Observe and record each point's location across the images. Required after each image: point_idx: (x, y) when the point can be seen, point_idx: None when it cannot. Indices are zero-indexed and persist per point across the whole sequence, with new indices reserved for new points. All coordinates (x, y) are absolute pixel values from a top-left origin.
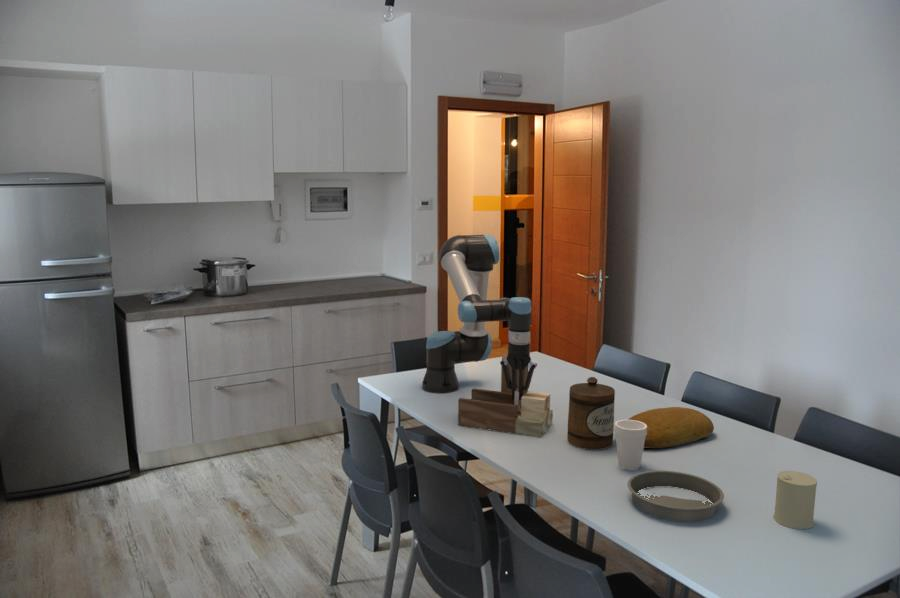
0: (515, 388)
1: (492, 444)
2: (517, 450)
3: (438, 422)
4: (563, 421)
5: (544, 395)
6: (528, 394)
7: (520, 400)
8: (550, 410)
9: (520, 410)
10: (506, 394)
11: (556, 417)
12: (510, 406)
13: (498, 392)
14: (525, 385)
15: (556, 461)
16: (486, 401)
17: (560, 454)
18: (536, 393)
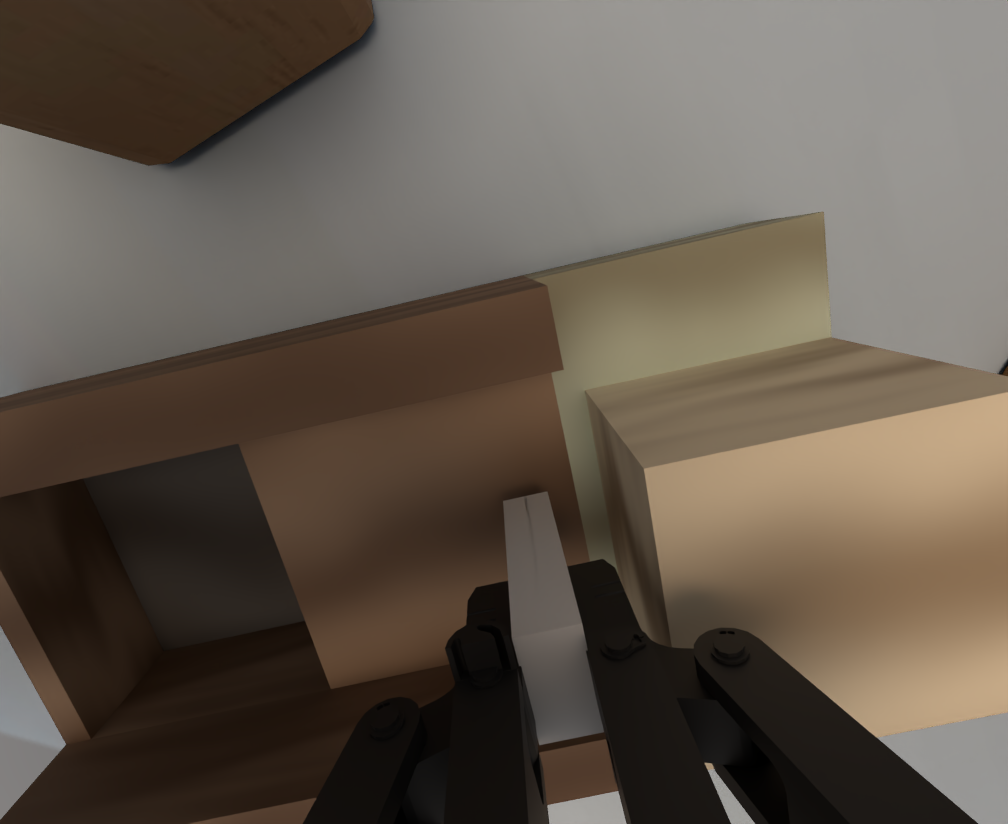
0: (536, 751)
1: (560, 813)
2: (733, 807)
3: (8, 713)
4: (818, 88)
5: (971, 513)
6: (723, 611)
7: (559, 539)
8: (804, 236)
9: (521, 434)
10: (261, 436)
11: (716, 7)
12: (582, 794)
13: (119, 442)
14: (775, 822)
15: (989, 814)
16: (269, 815)
17: (986, 726)
18: (816, 493)
